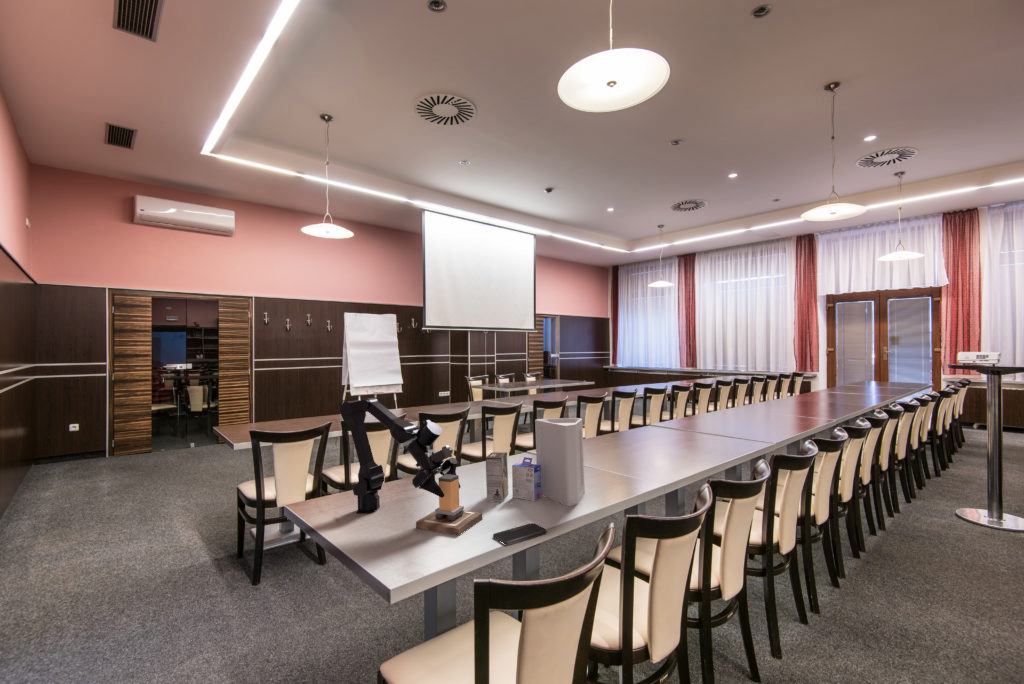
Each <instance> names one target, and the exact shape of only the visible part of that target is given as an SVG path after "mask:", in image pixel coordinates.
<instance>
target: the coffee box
mask: <svg viewBox="0 0 1024 684" xmlns="http://www.w3.org/2000/svg"><path fill="white" fill-rule="evenodd" d="M508 471H509V470H508V452H507V451H506V452H505V451H504V452H497V451H496V452H493V451H492V452H490V453H489V454H488V455H487V456H486V457H485V475H486V476H485V477H486V478H485V480H486V481H485V482H486V501H487V502H491V501H499V502H500V501H501V502H500V503H503V502H504V501H505V500H506V498H507V497H508V495H509V476H508V475H509V474H508V473H509V472H508ZM499 502H498V503H499Z"/></svg>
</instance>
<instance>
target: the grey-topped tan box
mask: <svg viewBox="0 0 1024 684" xmlns="http://www.w3.org/2000/svg"><path fill="white" fill-rule="evenodd" d="M459 481H460V479H459V475H457V474H456V475H450V474H446V475H444V476H443V475H441V476H440V477H438V485H439V487H440V488H441V490H442V491H443V493H444V495H445V496H444V497H443V498H441V497H439V496H438V507H436V508H435V509H434V511H435V513H437V514H436V515H435V518H436V519H437V520H440V519H441V518H443V517H445V516H446V515H449V516H448V517H447V519H448V521H449V522H452V521H453V520H455V519H456V518H458V517H460V516H461V515H463V513H464V511H465V507H464V505H460V489H459V484H460V482H459ZM463 510H464V511H463Z"/></svg>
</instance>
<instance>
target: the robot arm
mask: <svg viewBox="0 0 1024 684" xmlns="http://www.w3.org/2000/svg"><path fill="white" fill-rule="evenodd" d="M339 413H340V415H341V418H342V420H343V422H344V423H345V424H346V425H347V426H348V427H349V429H350V434H351V437H352V441H353V444H354V447H355V452H356V457H357V459H358V464H359V469H358V473H357V478H358V479H357V480H358V482H357V483H356V484H355V486H354V487H353V488H352V492H353V496H356V497H357V510H356V511H355V513H356V514H373V513H375V512H376V511H377V510H379V509H380V508H381V504H380V502H381V501H380V495H379V491H381V490H382V487H383V484H384V483H385V476H386V474H385V472H384V469H383V468H384V467H383V466H382V464H379V465H378V463H376V462H375V460H374V456H373V452H372V447H371V445H370V439H369V437H368V436H369V435H368V433H367V430H366V429H367V428H366V425H365V421H366V416H367V413H368V414H370V415H371V416H372V417H374V418H375V419H376V420H378V422H380V424H382V425H384V427H386V428H387V429H388V430H389V433H390V436H391V437H392V438H393V439H394V440H395V442H396V443H397V444H406V443H407V442H409V443H408V444H407V445H403V451H402V454H403V455H407V454H409V455H410V456H411V457H412V458H413V459H414V460H415V462H416V464H415V466H416V467H417V468H418V467H420V468H421V469H420V470H419V471H418V472H417V473H416V474H415V476H414V477H413V478H412V481H411V485H412V486H413V487H414V488H415V489H420V490H421V489H422V490H424V491H426V492H429V493H431V494H433V495H434V496H435V495H436V496H437V497H438V498H439V497H441V498H443V497H444V496H445V495H444V493H443V491H442V490H441V488H440V487H439V483H437V481H436V475H438V474H440V475H441V476H444V475H446V474H450V475H457V472H456V470H457V467H458V464H459V461H458V460H457V459H456V458H455V457H453V450H454V449H453V448H452V447H451V446H450V445H448V444H447V445H445V446H442V447H441V450H438V451H436V450H433V449H432V450H431V449H430V448H429V447H431V446H432V445H433V444H434V443H435V442H436V441H437V440H438V439H439V438H440V436H441V435H442V434H443V429H442V427H441V426H440V425H439V424H437V423H435V422H433V421H431V419H426V420H424V421H423V423H422V425H421V426H420V427H418V426H416V425H415V424H414V423H412V422H410V421H408V420H405V419H401V418H400V417H398V416H397V415H396V414H394V413H393V412H392V411H390V410H389V409H388V408H387V407H386V406H384V404H382V403H381V402H379V400H378V399H377V398H375V397H369V398H364V399H362V400H360V399H356V400H350V401H344V402H343V403H342V404H341V406H340V407H339ZM461 488H462V487H461V485H460V483H459V490H460V489H461Z"/></svg>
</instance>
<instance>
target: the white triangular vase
mask: <svg viewBox="0 0 1024 684" xmlns="http://www.w3.org/2000/svg"><path fill="white" fill-rule="evenodd" d="M534 422H535V425H534V427H535V429H534V430H535V453H536V454H535V455H536V457H535V459H536V464H537V465H541V496H543V497H545V496H546V497H545V498H547V497H548V498H547V499H549V498H550V499H549V500H552V501H554V502H556V501H557V503H559V504H562V505H564V506H566V507H572V506H576V505H579V503H580V502H581V500H582V498H583V497H584V496H585V492H586V490H585V487H586V485H585V467H584V466H585V464H584V463H585V462H584V461H585V460H584V437H583V436H584V433H583V431H584V429H583V419H582V418H579V417H569V418H568V417H561V418H559V417H558V418H552V417H551V418H538V419H535V420H534Z"/></svg>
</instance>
